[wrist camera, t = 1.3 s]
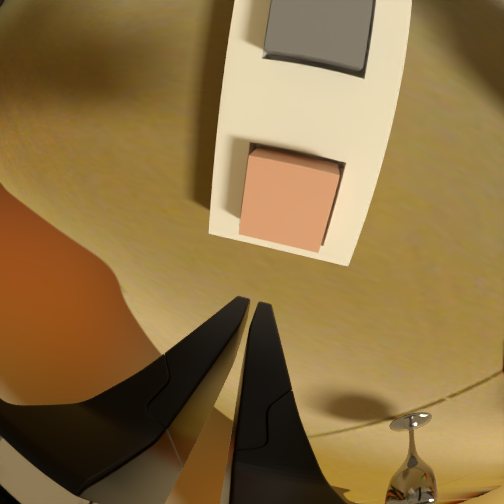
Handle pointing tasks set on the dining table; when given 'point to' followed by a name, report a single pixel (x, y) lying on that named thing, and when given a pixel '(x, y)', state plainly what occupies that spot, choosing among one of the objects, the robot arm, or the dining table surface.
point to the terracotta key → (287, 198)
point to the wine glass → (412, 468)
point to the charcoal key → (320, 31)
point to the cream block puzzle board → (307, 119)
